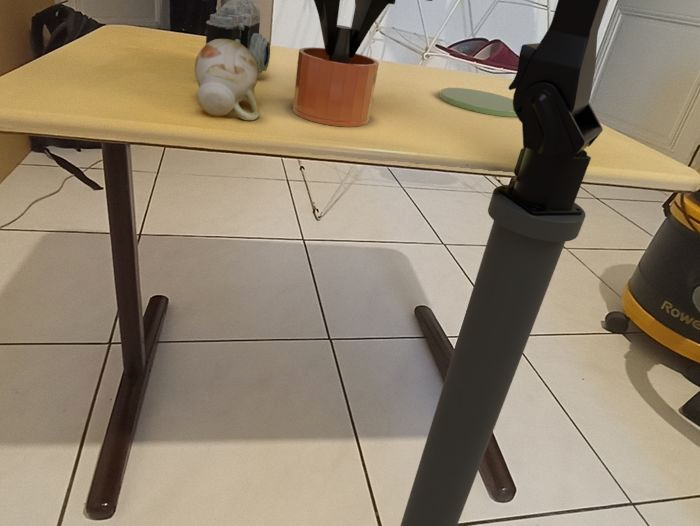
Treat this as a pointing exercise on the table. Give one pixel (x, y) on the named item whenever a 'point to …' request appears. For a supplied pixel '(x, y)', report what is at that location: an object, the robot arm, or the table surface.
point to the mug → (226, 78)
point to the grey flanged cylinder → (342, 45)
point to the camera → (240, 29)
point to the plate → (479, 101)
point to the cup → (334, 88)
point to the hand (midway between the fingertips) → (339, 55)
